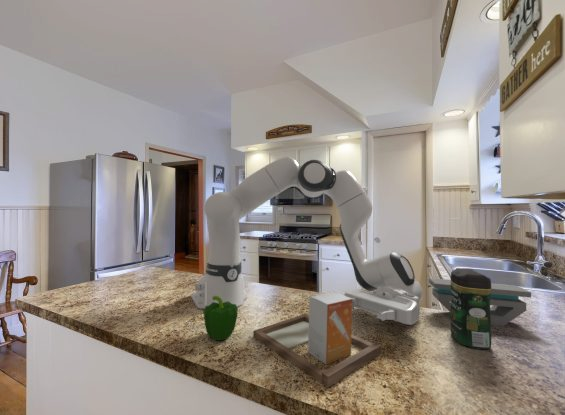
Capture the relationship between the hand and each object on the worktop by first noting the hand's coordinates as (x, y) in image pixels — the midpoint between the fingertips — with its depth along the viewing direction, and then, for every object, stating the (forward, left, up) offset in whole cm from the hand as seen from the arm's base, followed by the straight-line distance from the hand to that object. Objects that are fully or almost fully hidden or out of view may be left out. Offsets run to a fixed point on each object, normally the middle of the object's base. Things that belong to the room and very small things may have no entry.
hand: (363, 311), depth 68 cm
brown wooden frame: (-5, -13, -7) cm, 16 cm away
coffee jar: (+18, +21, -7) cm, 29 cm away
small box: (0, -13, -7) cm, 15 cm away
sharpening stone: (+15, +41, -7) cm, 44 cm away
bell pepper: (-23, -29, -7) cm, 38 cm away
